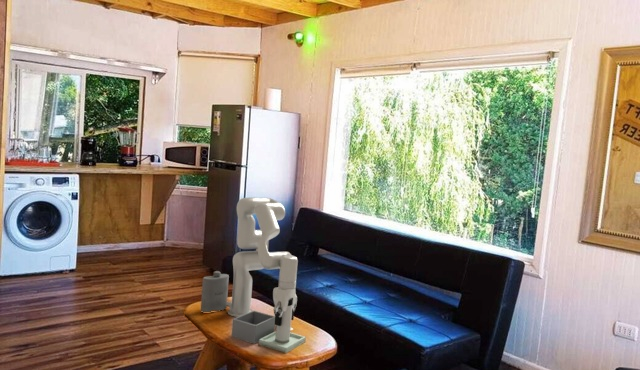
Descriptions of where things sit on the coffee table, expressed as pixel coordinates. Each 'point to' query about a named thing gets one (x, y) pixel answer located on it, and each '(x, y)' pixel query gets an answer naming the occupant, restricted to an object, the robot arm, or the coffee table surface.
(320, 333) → the coffee table surface
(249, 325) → the deep bin
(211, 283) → the flask
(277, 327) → the travel mug
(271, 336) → the tray
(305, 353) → the coffee table surface
